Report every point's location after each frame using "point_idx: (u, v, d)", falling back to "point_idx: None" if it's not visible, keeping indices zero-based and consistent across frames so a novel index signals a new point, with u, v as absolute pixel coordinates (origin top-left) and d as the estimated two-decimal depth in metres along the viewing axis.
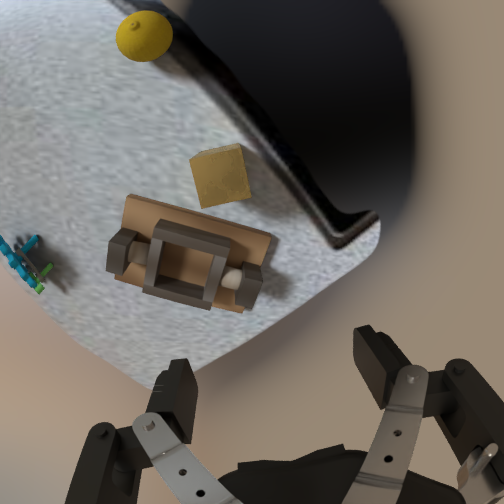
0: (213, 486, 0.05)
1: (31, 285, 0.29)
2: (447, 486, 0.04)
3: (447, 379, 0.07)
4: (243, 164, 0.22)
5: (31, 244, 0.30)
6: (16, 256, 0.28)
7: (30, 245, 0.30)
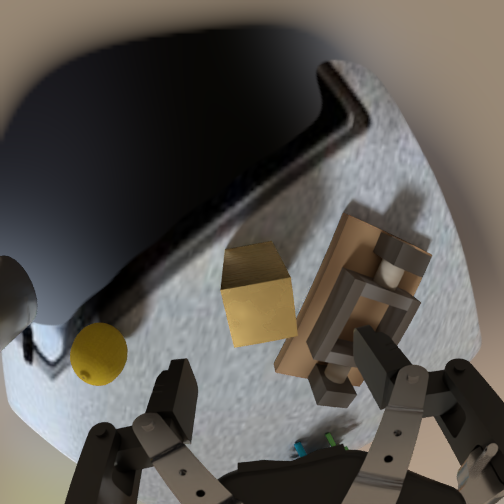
0: (213, 486, 0.05)
1: None
2: (447, 486, 0.04)
3: (447, 379, 0.07)
4: (244, 287, 0.17)
5: (302, 450, 0.32)
6: None
7: (302, 451, 0.32)
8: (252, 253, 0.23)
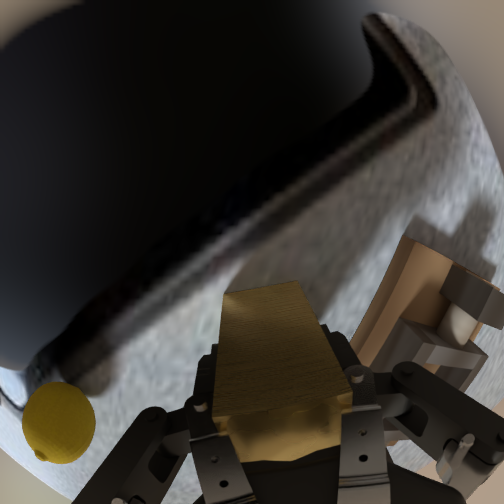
0: (239, 480, 0.05)
1: None
2: (447, 486, 0.04)
3: (397, 384, 0.08)
4: (259, 413, 0.07)
5: None
6: None
7: None
8: (268, 309, 0.13)
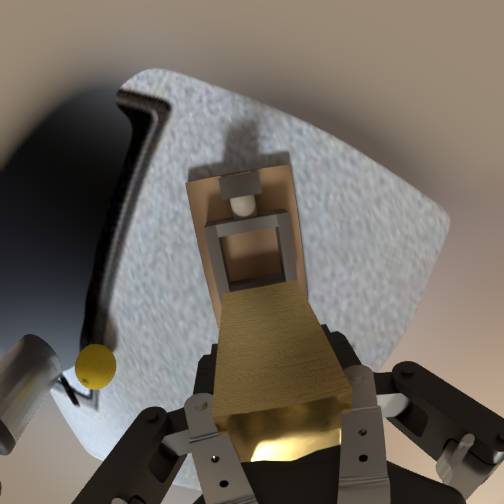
0: (239, 479, 0.05)
1: None
2: (447, 486, 0.04)
3: (397, 384, 0.08)
4: (259, 412, 0.07)
5: None
6: None
7: None
8: (268, 309, 0.13)
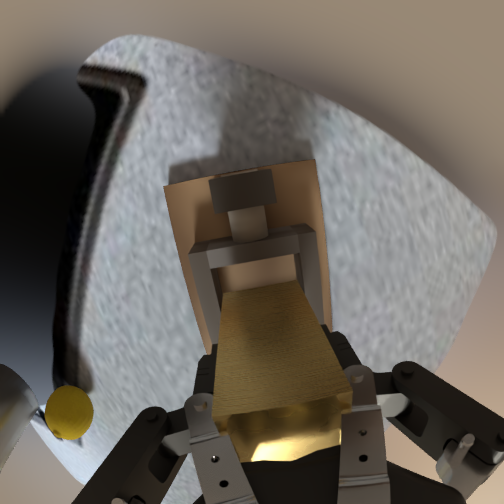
0: (239, 480, 0.05)
1: None
2: (447, 486, 0.04)
3: (397, 384, 0.08)
4: (259, 412, 0.07)
5: None
6: None
7: None
8: (268, 309, 0.13)
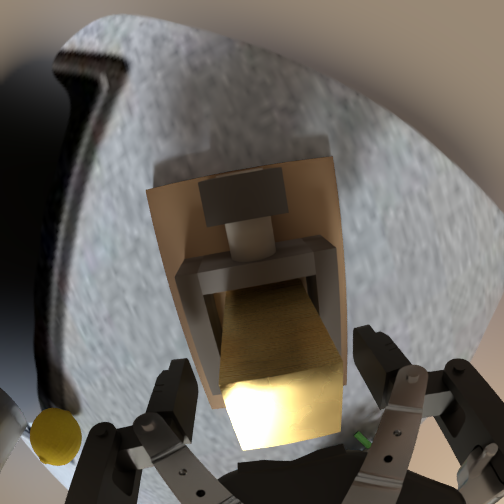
0: (213, 486, 0.05)
1: None
2: (447, 486, 0.04)
3: (447, 379, 0.07)
4: (260, 380, 0.09)
5: None
6: None
7: None
8: (267, 295, 0.15)
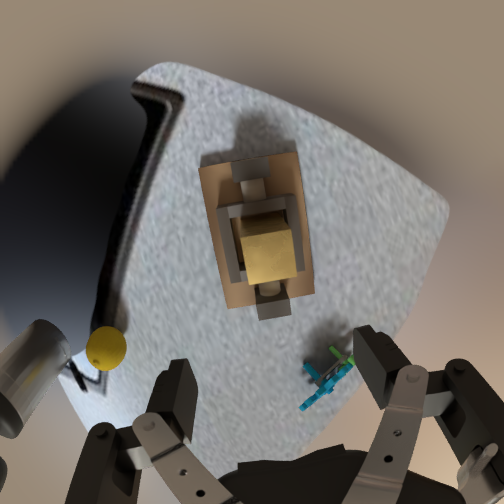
0: (213, 486, 0.05)
1: (345, 370, 0.34)
2: (447, 486, 0.04)
3: (447, 379, 0.07)
4: (257, 236, 0.23)
5: (311, 370, 0.39)
6: (321, 386, 0.37)
7: (312, 371, 0.38)
8: (262, 219, 0.29)
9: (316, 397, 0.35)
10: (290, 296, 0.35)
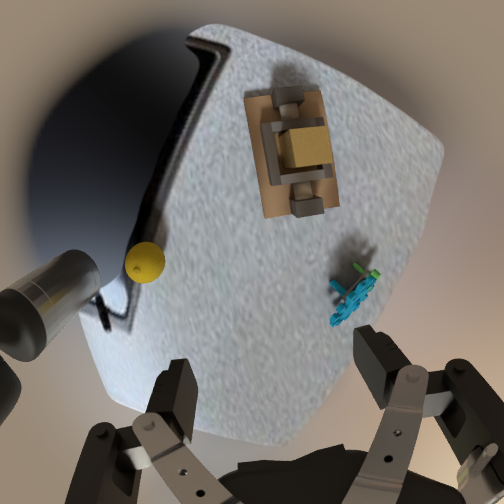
0: (213, 486, 0.05)
1: (371, 279, 0.39)
2: (447, 486, 0.04)
3: (447, 379, 0.07)
4: (302, 128, 0.28)
5: (338, 285, 0.43)
6: None
7: (339, 286, 0.43)
8: None
9: (346, 307, 0.40)
10: None
